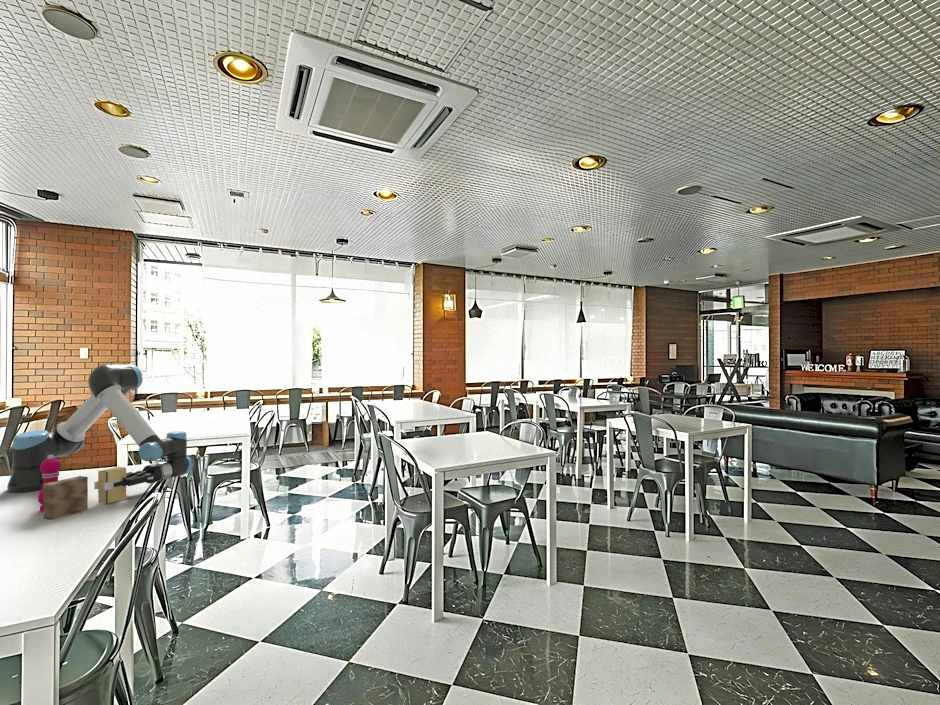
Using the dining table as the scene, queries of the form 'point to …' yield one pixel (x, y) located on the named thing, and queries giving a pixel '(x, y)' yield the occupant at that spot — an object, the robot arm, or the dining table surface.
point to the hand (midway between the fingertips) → (99, 486)
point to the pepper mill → (48, 475)
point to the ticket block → (65, 497)
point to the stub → (114, 493)
